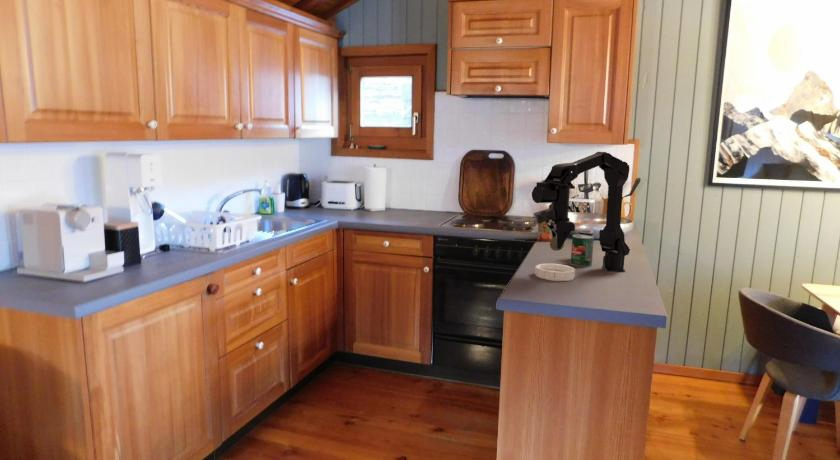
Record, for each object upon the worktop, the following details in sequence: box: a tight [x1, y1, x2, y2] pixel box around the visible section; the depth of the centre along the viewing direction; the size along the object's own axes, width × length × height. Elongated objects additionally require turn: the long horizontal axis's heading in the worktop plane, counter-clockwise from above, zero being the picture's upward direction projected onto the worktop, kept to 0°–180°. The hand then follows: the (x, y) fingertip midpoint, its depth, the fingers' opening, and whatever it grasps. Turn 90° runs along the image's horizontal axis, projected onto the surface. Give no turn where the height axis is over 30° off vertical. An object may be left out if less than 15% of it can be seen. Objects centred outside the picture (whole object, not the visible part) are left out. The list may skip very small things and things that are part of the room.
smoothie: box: [537, 202, 552, 242], centre depth 267 cm, size 8×8×20 cm
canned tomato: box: [570, 233, 595, 268], centre depth 218 cm, size 8×8×11 cm
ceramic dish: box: [534, 263, 576, 282], centre depth 199 cm, size 13×13×3 cm
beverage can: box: [577, 227, 594, 237], centre depth 228 cm, size 6×6×12 cm
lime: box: [549, 236, 565, 252], centre depth 197 cm, size 4×5×5 cm
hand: (557, 247), depth 197 cm, fingers closed on lime, 5 cm apart
